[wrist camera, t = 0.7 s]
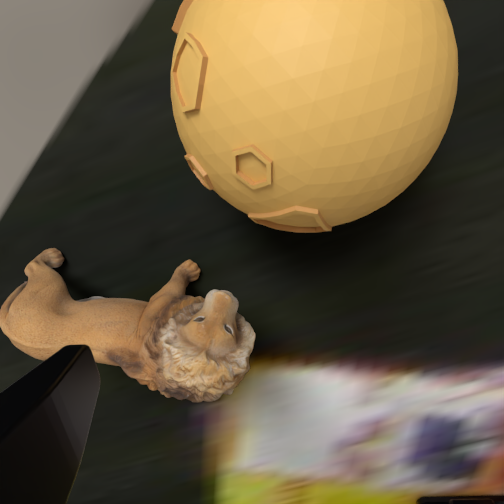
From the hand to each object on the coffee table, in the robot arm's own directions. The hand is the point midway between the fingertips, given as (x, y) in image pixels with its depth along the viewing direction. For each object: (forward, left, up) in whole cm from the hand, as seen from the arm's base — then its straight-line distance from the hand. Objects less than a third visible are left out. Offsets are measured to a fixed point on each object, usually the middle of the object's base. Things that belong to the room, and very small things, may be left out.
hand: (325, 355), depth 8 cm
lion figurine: (-5, +10, -15) cm, 19 cm away
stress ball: (+4, 0, -15) cm, 16 cm away
